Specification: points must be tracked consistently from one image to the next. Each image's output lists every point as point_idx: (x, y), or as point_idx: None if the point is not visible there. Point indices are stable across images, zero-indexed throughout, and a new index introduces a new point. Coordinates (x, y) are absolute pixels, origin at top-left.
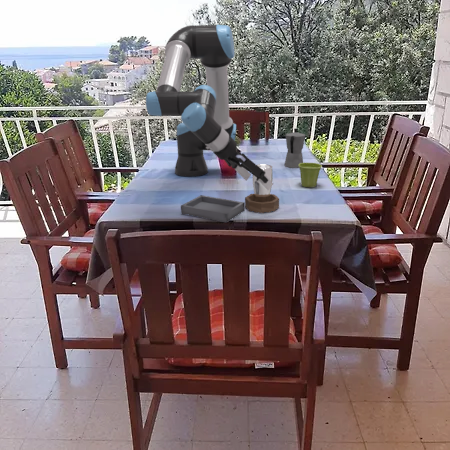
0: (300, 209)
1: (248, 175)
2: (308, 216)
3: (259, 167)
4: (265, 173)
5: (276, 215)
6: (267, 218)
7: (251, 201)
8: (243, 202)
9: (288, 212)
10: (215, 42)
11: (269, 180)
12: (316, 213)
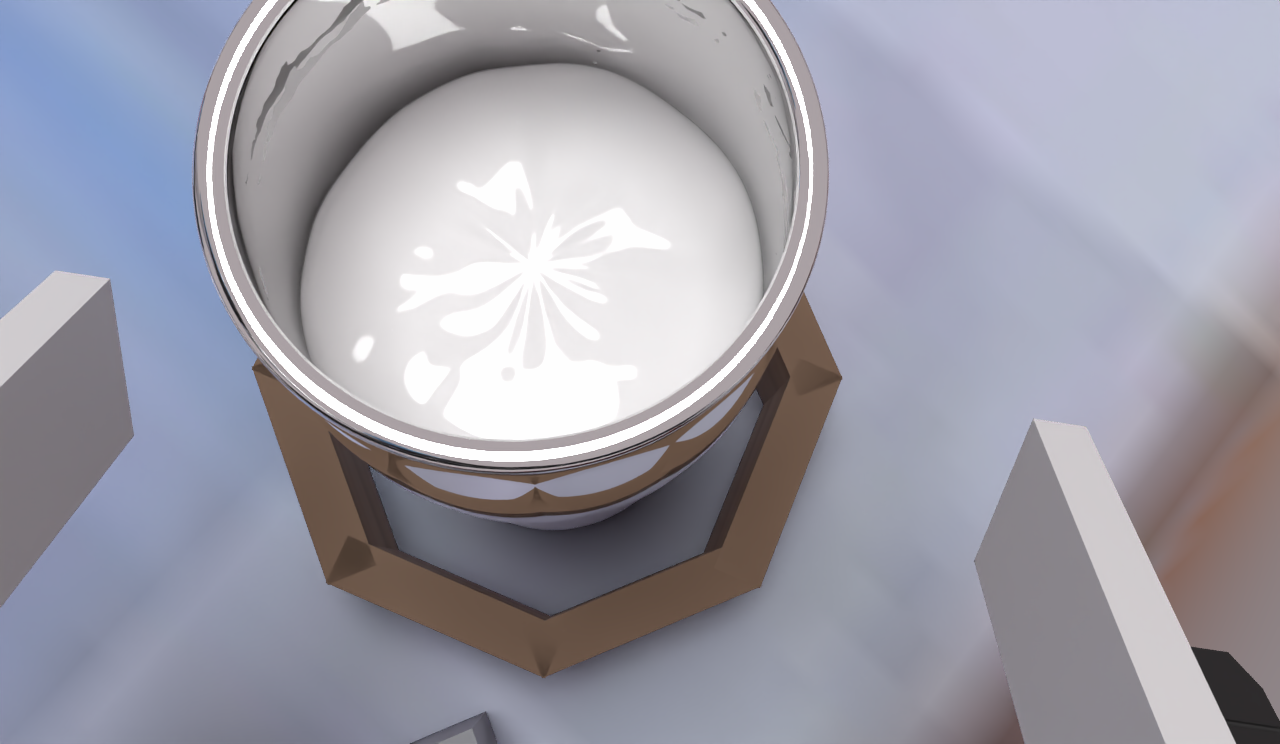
0: (966, 69)
1: (91, 359)
2: (1221, 186)
3: (266, 93)
4: (780, 335)
5: (942, 480)
6: (954, 666)
7: (568, 646)
8: (459, 741)
9: (954, 270)
10: None
11: (1130, 545)
12: (1198, 33)
